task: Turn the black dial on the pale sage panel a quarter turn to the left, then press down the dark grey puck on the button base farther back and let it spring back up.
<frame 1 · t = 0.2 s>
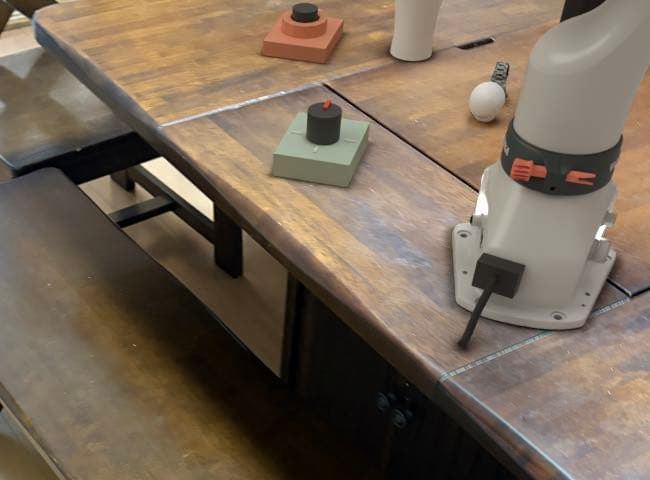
wristwatch: (496, 100, 127), on the table
panel: (321, 159, 116), on the table
dark grey puck: (305, 13, 136), point 4 cm above the table, slide at 0.1 cm
button base: (303, 44, 139), on the table
deodorant: (561, 97, 128), on the table
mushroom: (482, 121, 123), on the table
cup: (410, 54, 138), on the table
dial: (323, 122, 112), point 5 cm above the table, hinge at 0.0°
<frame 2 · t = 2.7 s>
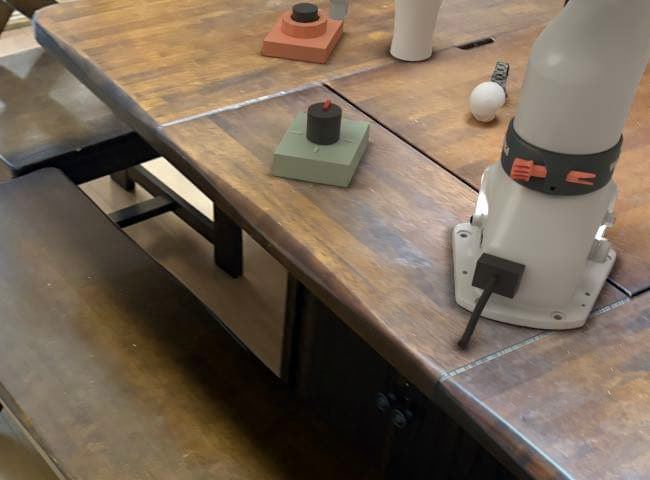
hand: (347, 2, 102), 19 cm above the table, tool pointing down, fingers open, 8 cm apart
nothing on the table moved.
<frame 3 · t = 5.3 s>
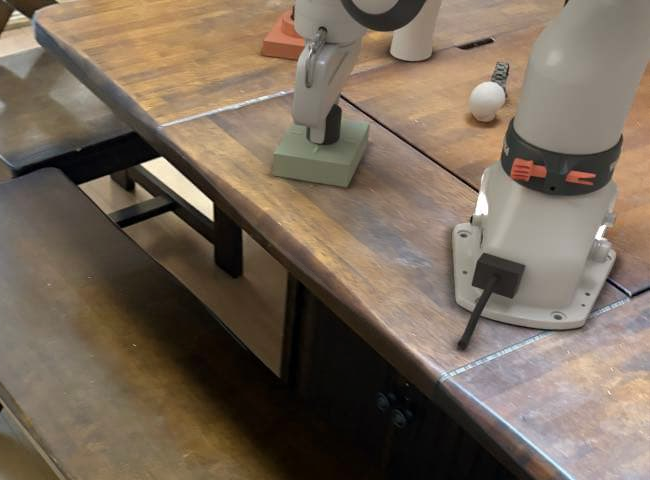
hand: (323, 130, 113), 4 cm above the table, tool pointing down, fingers closed on dial, 4 cm apart
dial: (323, 122, 112), point 5 cm above the table, hinge at -0.3°, touching gripper
everything else where it was.
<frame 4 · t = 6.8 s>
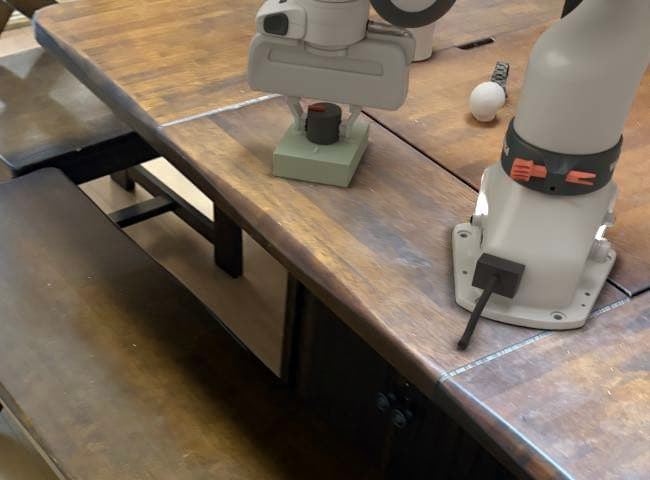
hand: (323, 132, 113), 4 cm above the table, tool pointing down, fingers closed on dial, 4 cm apart
dial: (323, 122, 112), point 5 cm above the table, hinge at 93.5°, touching gripper
everything else where it was.
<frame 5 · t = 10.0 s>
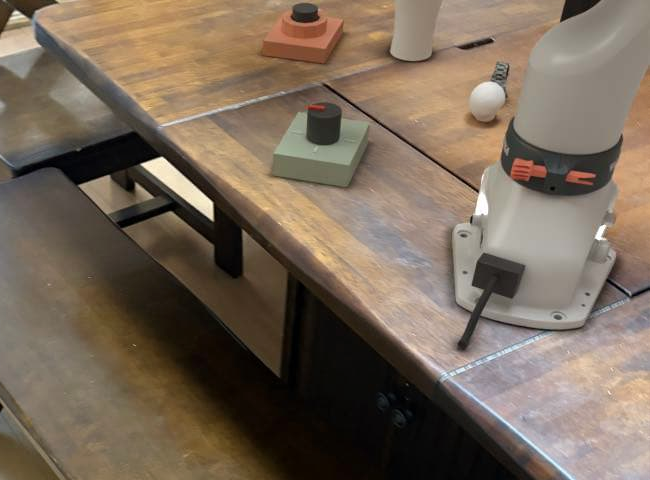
dial: (323, 122, 112), point 5 cm above the table, hinge at 93.5°
everything else where it was.
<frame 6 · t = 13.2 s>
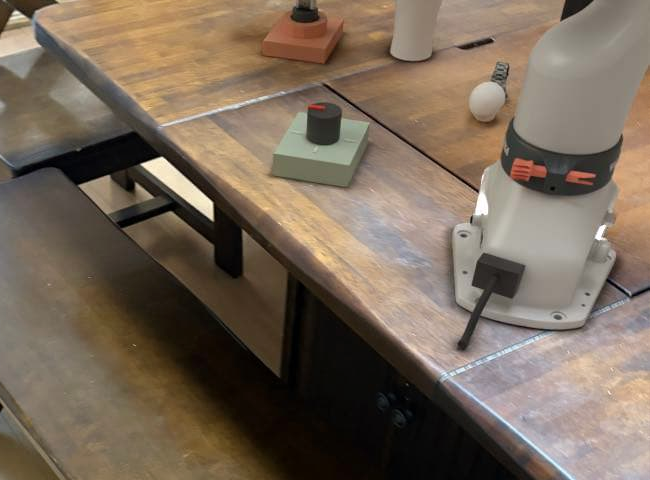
hand: (305, 8, 135), 5 cm above the table, tool pointing down, fingers closed, pressing on dark grey puck
dark grey puck: (305, 14, 136), point 4 cm above the table, slide at -0.1 cm, touching gripper
everything else where it was.
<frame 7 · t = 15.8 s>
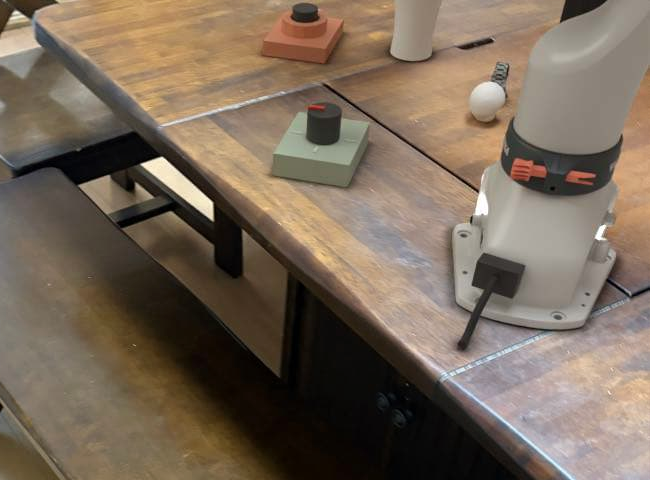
dark grey puck: (305, 13, 136), point 4 cm above the table, slide at 0.1 cm
everything else where it was.
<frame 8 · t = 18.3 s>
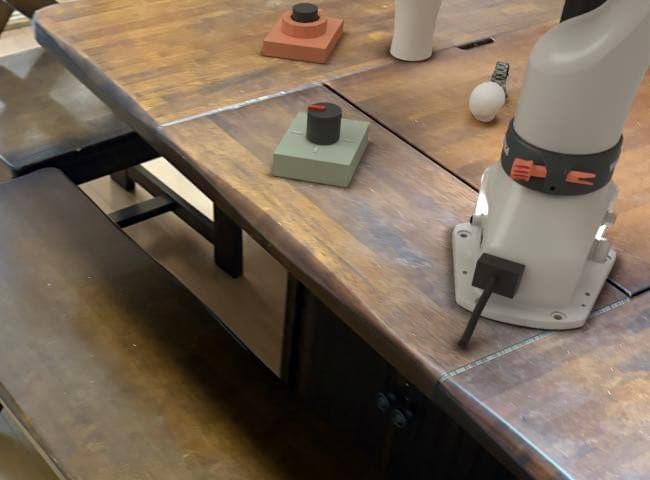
nothing on the table moved.
at the end: dial at +94° (first picture: +0°); dark grey puck pushed in 1.0 cm at the most during the clip, back to where it started at the end; dark grey puck slide at 0.1 cm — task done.
